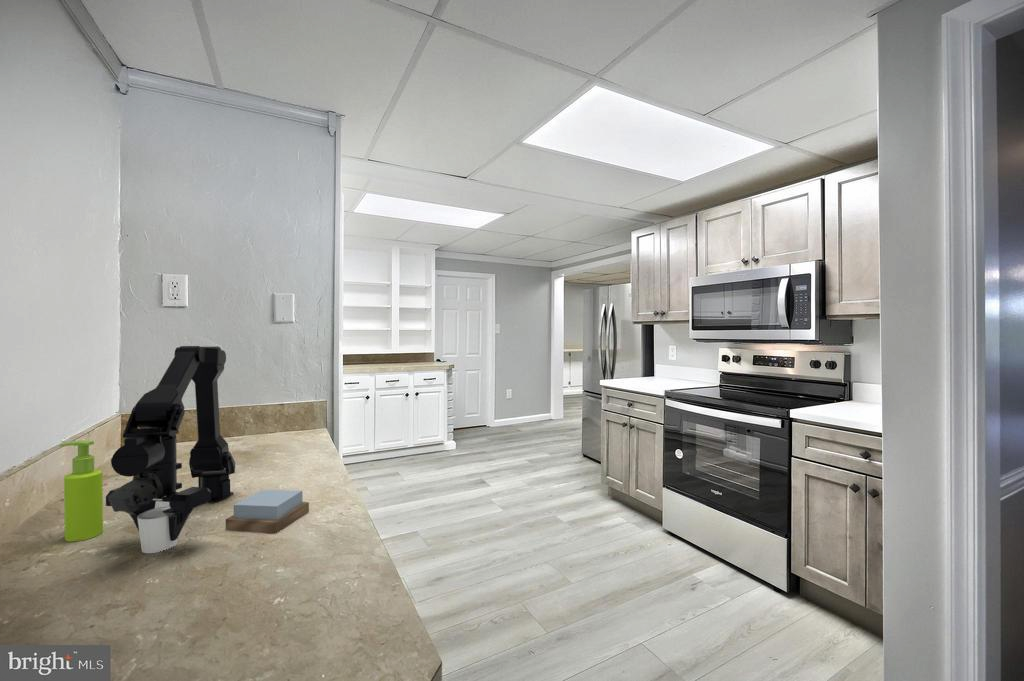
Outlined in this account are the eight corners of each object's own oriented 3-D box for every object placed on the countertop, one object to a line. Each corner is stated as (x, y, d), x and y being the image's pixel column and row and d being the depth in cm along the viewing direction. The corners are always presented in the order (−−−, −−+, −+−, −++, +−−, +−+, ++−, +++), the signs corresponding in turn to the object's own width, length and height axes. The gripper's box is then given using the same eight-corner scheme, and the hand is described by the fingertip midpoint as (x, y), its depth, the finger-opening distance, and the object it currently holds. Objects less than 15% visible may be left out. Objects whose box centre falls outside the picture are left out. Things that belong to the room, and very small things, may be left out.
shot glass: (157, 556, 87) (156, 520, 87) (128, 553, 89) (127, 517, 89) (189, 540, 94) (188, 506, 94) (161, 537, 95) (161, 504, 95)
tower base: (225, 532, 99) (225, 519, 99) (263, 511, 111) (263, 499, 111) (276, 536, 98) (276, 522, 98) (308, 514, 109) (308, 502, 109)
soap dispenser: (76, 530, 99) (75, 438, 99) (110, 529, 100) (109, 438, 100) (51, 542, 93) (50, 445, 93) (87, 541, 94) (86, 444, 94)
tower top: (233, 518, 100) (233, 504, 100) (262, 501, 110) (262, 489, 110) (277, 520, 99) (277, 506, 99) (302, 503, 109) (302, 490, 109)
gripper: (75, 471, 85) (76, 554, 85) (163, 475, 82) (163, 562, 82) (133, 455, 96) (134, 529, 96) (212, 459, 93) (213, 535, 93)
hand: (159, 539), depth 91 cm, fingers closed on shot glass, 6 cm apart
